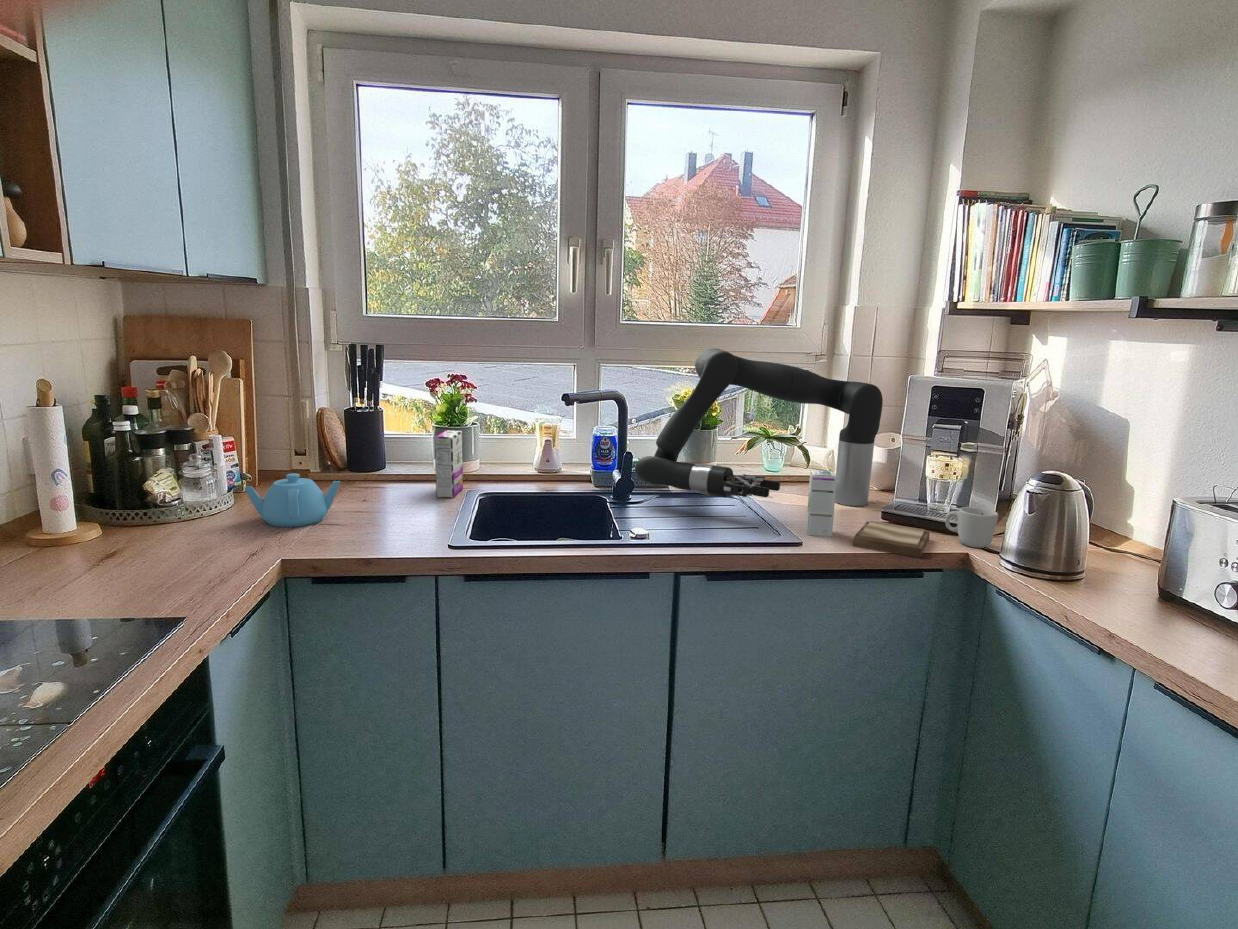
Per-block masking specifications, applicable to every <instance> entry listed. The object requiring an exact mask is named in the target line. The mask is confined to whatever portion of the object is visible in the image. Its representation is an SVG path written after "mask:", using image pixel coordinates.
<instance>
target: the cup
mask: <svg viewBox="0 0 1238 929" xmlns="http://www.w3.org/2000/svg"><path fill="white" fill-rule="evenodd" d="M952 516H953V517H956V520H957V524H956V526H952V525H951V522H950V520H951V519H950V518H951V517H952ZM998 519H999V513H998V512H997V511H995V510H991V509H989V508H984V507H977V506H963V507H960V508H959V510H952V511H950V512H947V513H946V516H945V518H944V521H945V522H944V523H945V527H946V528H947V529H948V530H949V531H951V532H952V533H953V532H954V533H957V534H958V540H959V542H960V543H961V544H962V545H964V546H966V547H970V548H978V549H985V548H984V547H986V548H988V547H989V546H991V545H992V542H993V539H994V533H995V531H996V526H997V523H998Z"/></svg>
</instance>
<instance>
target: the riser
mask: <svg viewBox="0 0 1238 929" xmlns="http://www.w3.org/2000/svg"><path fill="white" fill-rule="evenodd" d="M930 532H931V531H929V530H926V529H924V528H918V527H911V526H904V525H900V524H899V525H898V524H892V523H886V522H878V521H872V520H870V521H866V522H865V523H864V524H863V525H862V527H861V528H860V529H859V530H858V532H857V533H856V534H855V535H854V536H853V538H852V547H856V548H862V549H866V550H867V549H868V550H872V551H878V552H885V553H889V554H890V553H891V554H896V555H902V556H906V557H907V556H908V557H914V558H919V559H921V557H922V555H923V553H924V551H925V549H924V548H926V547H927V545H928V542H929V539H930V534H931V533H930ZM926 544H927V545H926ZM925 546H926V547H925Z"/></svg>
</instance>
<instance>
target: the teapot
mask: <svg viewBox="0 0 1238 929" xmlns="http://www.w3.org/2000/svg"><path fill="white" fill-rule="evenodd" d="M285 476H286V478H283V479H282V478H281V479H278V480H275V481H274V482H273V483H272V484H271V485H270V487H269V489H268V490H267V492H266V494H265V496H264V497H263V498H261V497H260V495H259V494H258V492H257V491H256V490H255V488H254V487H253V485H249V486H247V485H246V486H243V487H244V490H245V492H246V494H247V496H248V497H249V499H250V501H251V503H252V505H253V506H254V508H255V510H256V511H257V513H258V515H260V516H261V518H262V519H263V520H264V521H265V522H266V523H267V524H268V525H270V526H273V527H279V528H280V527H281V528H293V527H294V528H295V527H296V528H297V527H303V526H309V525H315V524H316V523H319V522H321V521H322V520H323V519H324V518H325V517H326V515H327V514H328V512H329V510H330V509H331V506H332V504H333V501H334V499H335V497H336V494H337V492H338V489H339V487H340V484H341V481H340V480H337V481H336V480H333V481H332V483H331V485H330V487H329V489H328V490H327V492H326V494H325V495H324V493H323V492H322V490H321V489H320V487H319V486H318V485H317V483H315V481H314V480H312V479H311V478H304V477H300V476H301V475H300V474H299V473H295V472H294V473H287V474H286V475H285Z"/></svg>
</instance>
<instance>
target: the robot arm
mask: <svg viewBox="0 0 1238 929" xmlns="http://www.w3.org/2000/svg"><path fill="white" fill-rule="evenodd" d="M694 369H695V372H696V374H697V376H698V377H699V380H698V382H697V385H696V386H695V387H694V390H693V391H692V392H691V393H690V395H689V396H688V398H686V400H685V401H684V402H683V403H682V404H681V405H680V406H679V407H678V408H677V409H676V411H674V413H672V415H671V416H670V418H669V419H668V420H667V422H666V423H665V425H664V427H663V428H662V429H661V431H660V433H659V435H658V436H657V437H656V441H655V445H656V446H657V448H656V450H655V453H654V455H653V456H651V455H646V456H643V457H641V458H640V459H639V460H637V462H636V464H635V466H634V473H635V475H636V477H637V479H638V480H640V481H641V482H643V483H645V484H648V485H652V486H655V487H659V486H661V485H663V486H669V487H673V488H676V489H678V490H679V489H680V490H685V491H690V492H694V493H698V494H702V495H703V494H704V495H710V496H715V497H720V498H727V497H729V496H730V495H731V496H737V497H742V498H747V497H752V496H755V497H760V498H761V497H762V498H768V497H769V495H770V491H774V492H778V491H780V489H781V483H780V481H776V480H769V479H766V477H765V476H759V475H751V474H745V473H743V474H738V476H735V475H734V471H733V469H732V468H731V467H728V466H721V465H714V464H706V463H692V462H687V461H677V460H678V459H679V455H680V453H681V451H682V450H683V448H684V447H685V445H686V443H687V442H688V441H689V439H690V438H691V435H692V434H693V432H694V431H695V430H696V427H697V426H698V425H699V423H700V422H701V421H702V419H703V418H704V416H705V415H706V414H707V413H708V411H709V409H710V408H711V407H712V406H713V405H714V403H715V402H716V400H718V398H719V397H720V396H721V395H722V394H723V392H725V390H727V388H728V387H729V386H738V387H742V388H745V389H749V390H750V391H754V392H755V393H758V394H760V395H763V396H767V397H769V398H773V399H776V400H781V401H785V402H791V403H796V404H803V405H807V404H808V405H821V406H825V407H828V408H831V409H834V410H836V411H837V410H838V411H839V412H842V413H845V414H847V415H848V421H847V424H846V426H845V427H844V428H842V429H840V431H839V437H838V446H837V457H836V458H837V459H836V469H835V475H836V490H835V503H837V504H839V503H840V505H844V506H850V507H851V506H852V507H864V506H867V505H868V504H869V496H870V495H869V494H870V487H871V479H872V478H871V477H872V468H873V459H874V448H875V440H876V436H877V434H878V433H879V430H880V429H879V428H880V425H881V419H882V418H881V417H882V412H883V403H884V402H883V394H882V391H881V390H880V388H879V387H878V386H876V385H875V384H873V383H867V382H862V381H850V380H849V381H848V380H839V379H833V378H827V377H824V376H821V375H819V374H818V373H815V372H813V371H810V370H807V369H804V368H801V367H797V366H793V365H790V364H784V363H778V362H777V363H776V362H770V361H761V360H753V359H747V358H744V357H740V356H737V355H734V354H733V353H732V352H729V351H726V350H724V349H720V348H708V349H706V350H703V351H702V352H701V353H699V354H698V356H697V358H696V359H695V362H694ZM757 482H759V483H757Z"/></svg>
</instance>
